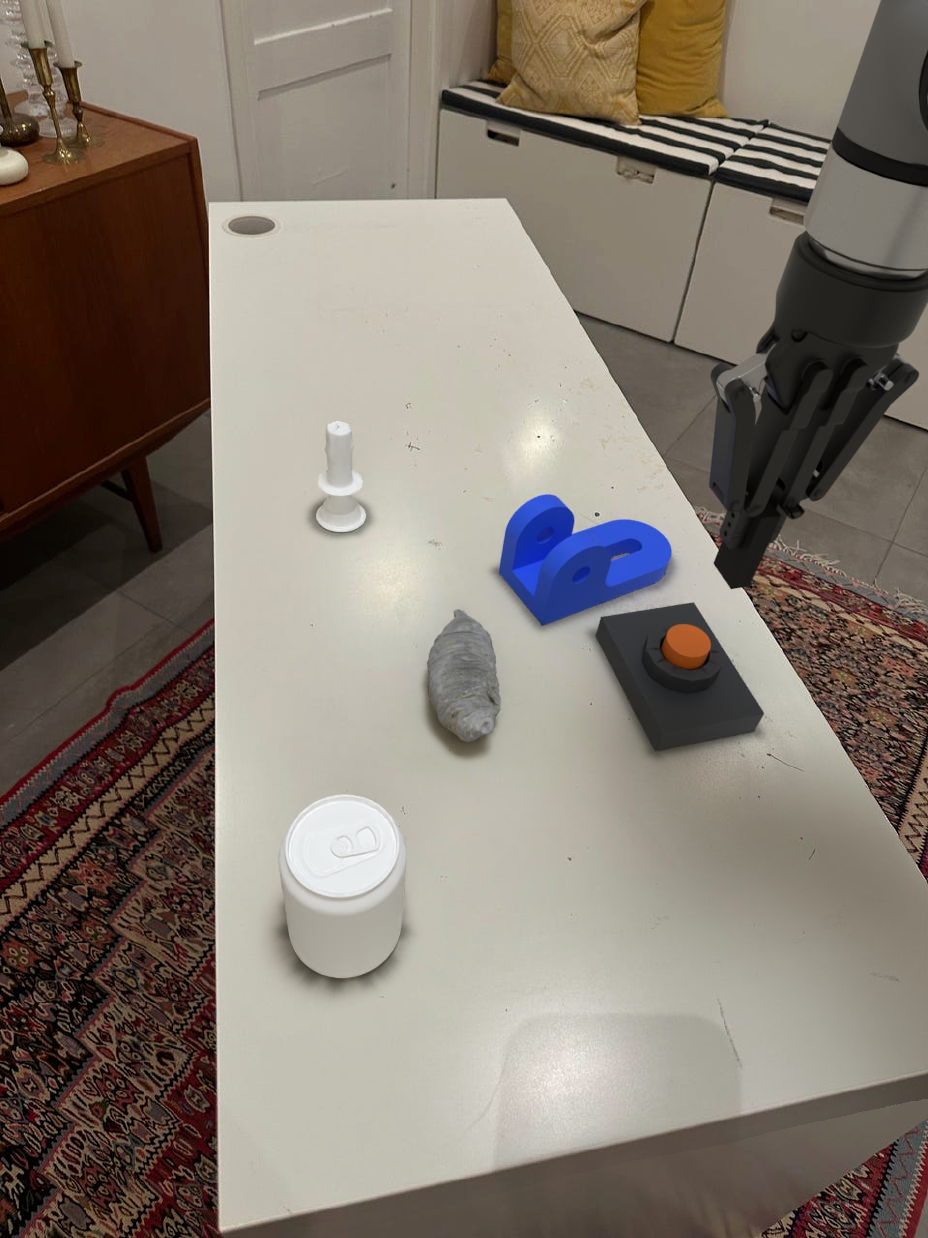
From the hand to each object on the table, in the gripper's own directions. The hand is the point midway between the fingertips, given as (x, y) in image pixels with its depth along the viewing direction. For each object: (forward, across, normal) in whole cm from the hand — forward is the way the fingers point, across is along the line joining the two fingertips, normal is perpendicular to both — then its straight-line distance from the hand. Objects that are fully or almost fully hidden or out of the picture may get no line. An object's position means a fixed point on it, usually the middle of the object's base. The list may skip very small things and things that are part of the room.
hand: (731, 574), depth 62 cm
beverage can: (+21, +30, +10) cm, 38 cm away
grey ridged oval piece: (+21, +16, -9) cm, 28 cm away
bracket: (+21, -2, -22) cm, 30 cm away
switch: (+16, -4, -6) cm, 18 cm away
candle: (+21, +22, -35) cm, 46 cm away
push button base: (+20, -4, -6) cm, 22 cm away
